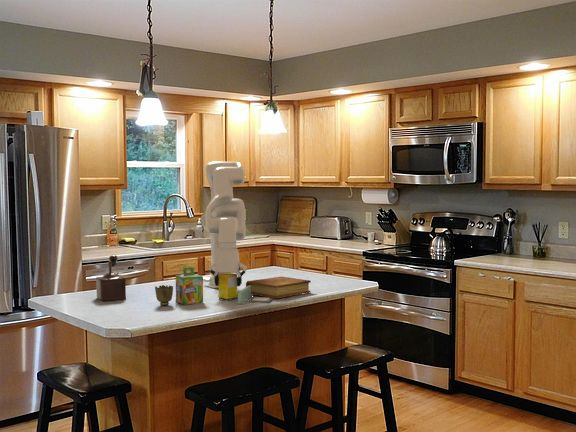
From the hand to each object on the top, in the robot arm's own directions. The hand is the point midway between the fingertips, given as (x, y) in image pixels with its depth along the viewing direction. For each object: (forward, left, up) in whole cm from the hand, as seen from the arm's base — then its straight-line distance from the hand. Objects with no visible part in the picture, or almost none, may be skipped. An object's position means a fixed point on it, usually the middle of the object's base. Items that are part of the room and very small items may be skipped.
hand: (228, 285), depth 277 cm
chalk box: (-14, -9, -6) cm, 18 cm away
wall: (+8, -1, -6) cm, 10 cm away
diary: (+19, +17, -6) cm, 26 cm away
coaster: (+15, 0, -6) cm, 16 cm away
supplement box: (0, +1, -6) cm, 6 cm away
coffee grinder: (-52, -5, -6) cm, 53 cm away
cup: (-22, -17, -6) cm, 29 cm away
